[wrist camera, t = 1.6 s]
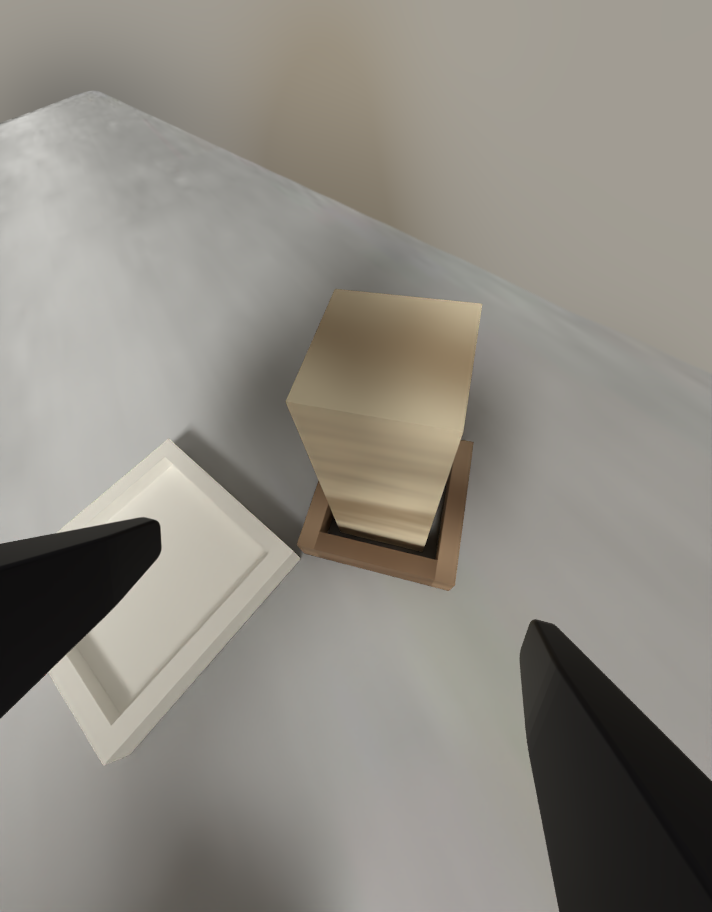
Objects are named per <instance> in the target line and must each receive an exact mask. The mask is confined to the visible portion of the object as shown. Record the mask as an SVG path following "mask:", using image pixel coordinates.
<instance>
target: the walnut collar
mask: <svg viewBox="0 0 712 912" xmlns="http://www.w3.org/2000/svg"><path fill="white" fill-rule="evenodd" d="M472 450H473V442H470V441H464V440H460V443H459V446H458V449H457V452H456V455H455V458H454V461H453V464H452V467H451V470H450V473H449V475H448V481H447V487H446V494H445V500H444V506H443V512H442V519H441V525H440V531H439V537H438V543H437V550H436V556H435V560H434V559H430V558H426V557H422V556H418V555H413V554H409V553H405V552H401V551H397V550H393V549H389V548H385V547H381V546H377V545H372V544H368V543H364V542H360V541H356V540H352V539H348V538H344V537H340V536H336V535H332V534H328V530H329V527H330V524H331V521H332V517H333V513H332V511H331V508H330V506H329V504H328V501H327V499H326V497H325V494H324V492H323V489H322V487H321V485H320V482H319V481H318V484H317V487H316V490H315V493H314V496H313V498H312V501H311V504H310V507H309V510H308V513H307V516H306V519H305V522H304V525H303V528H302V531H301V533H300V536H299V539H298V542H297V546H298V547H299V548H300V549H301V550H302V551H303V552H304V553H305V554H309V555H312V556H316V557H320V558H324V559H328V560H332V561H336V562H339V563H343V564H347V565H351V566H355V567H359V568H363V569H366V570H370V571H374V572H378V573H382V574H386V575H390V576H393V577H397V578H401V579H405V580H409V581H413V582H417V583H420V584H424V585H428V586H432V587H436V588H440V589H444V590H447V591H449V590H450V589H451V588H452V587H453V586H454V585H455V580H456V572H457V565H458V557H459V549H460V542H461V534H462V526H463V519H464V511H465V503H466V496H467V488H468V481H469V473H470V465H471V458H472Z"/></svg>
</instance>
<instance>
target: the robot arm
mask: <svg viewBox="0 0 712 912" xmlns="http://www.w3.org/2000/svg"><path fill="white" fill-rule="evenodd" d="M161 550H162V544H161V526H160V523H159V522H158V521H157V520H154V519H150V518H147V517H139V518H134V519H128V520H123V521H118V522H113V523H107V524H102V525H97V526H92V527H86V528H81V529H76V530H71V531H65V532H60V533H55V534H50V535H44V536H39V537H34V538H29V539H23V540H18V541H13V542H8V543H2V544H0V718H1V717H3V716H4V715H5V714H6V713H7V712H8V711H9V710H10V709H11V708H12V707H13V706H14V705H15V704H16V703H17V702H18V701H19V700H20V699H21V698H22V697H23V696H24V695H25V694H26V693H27V692H28V691H29V690H30V689H31V688H32V687H33V686H34V685H36V684H37V683H38V682H39V681H40V680H41V679H42V678H43V677H44V676H45V675H46V674H47V673H48V672H49V671H50V670H51V669H52V668H53V667H54V666H55V665H56V664H57V663H58V662H59V661H60V660H61V659H62V658H63V657H64V656H65V655H66V654H67V653H68V652H70V651H71V650H72V649H73V648H74V647H75V646H76V645H77V644H78V643H79V642H80V641H81V640H82V639H83V638H84V637H85V636H86V635H87V634H88V633H89V632H90V631H91V630H92V629H93V628H94V627H95V626H96V625H97V624H98V623H99V622H100V621H101V620H102V619H104V618H105V617H106V616H107V615H108V614H109V613H110V612H111V611H112V610H113V609H114V608H115V606H116V605H117V604H118V603H119V602H120V601H121V600H122V599H123V598H124V596H125V595H126V594H127V593H128V592H129V591H130V590H131V588H132V587H133V586H134V585H135V584H136V583H137V582H138V580H139V579H140V578H141V577H142V576H143V575H144V574H145V572H146V571H147V570H148V569H149V568H150V567H151V566H152V564H153V563H154V562H155V561H156V560H157V559H158V557H159V555H160V553H161ZM520 671H521V683H522V694H523V706H524V717H525V728H526V738H527V745H528V751H529V757H530V762H531V767H532V773H533V778H534V783H535V788H536V793H537V799H538V804H539V809H540V814H541V819H542V825H543V830H544V835H545V840H546V845H547V851H548V856H549V861H550V866H551V871H552V876H553V882H554V887H555V892H556V897H557V902H558V908H559V912H712V781H711V780H710V779H709V778H708V777H707V776H706V775H705V774H704V773H703V772H702V771H701V770H700V769H699V768H698V767H697V766H696V765H695V764H694V763H693V762H692V761H691V760H690V759H689V758H688V757H687V756H686V755H685V754H684V753H683V752H682V751H681V750H680V749H679V748H678V747H677V746H676V745H675V744H674V743H673V742H672V741H671V740H670V739H669V738H668V737H667V736H666V735H665V734H664V733H663V732H662V731H661V730H660V729H659V728H658V727H657V726H656V725H655V724H654V723H653V722H652V721H651V720H650V719H649V718H648V717H647V716H646V715H645V714H644V713H643V712H642V711H641V710H640V709H639V708H638V707H637V706H636V705H635V704H634V703H633V702H632V701H631V700H630V699H629V698H628V697H627V696H626V695H625V694H624V693H623V692H622V691H621V690H620V689H619V688H618V687H617V686H616V685H615V684H614V683H613V682H612V681H611V680H610V679H609V678H608V677H607V676H606V675H605V674H604V673H603V672H602V671H601V670H600V669H599V668H598V667H597V666H596V665H595V664H594V663H593V662H592V661H591V660H590V659H589V658H588V657H587V656H586V655H585V654H584V653H583V652H582V651H581V650H580V649H579V648H578V647H577V646H576V645H575V644H574V643H573V642H572V641H571V640H570V639H569V638H568V637H567V636H566V635H565V634H564V633H563V632H562V631H561V630H560V629H559V628H558V627H557V626H555V625H554V624H552V623H548V622H544V621H540V620H536V619H534V620H532V621H531V622H530V624H529V627H528V630H527V633H526V635H525V638H524V641H523V644H522V647H521V651H520Z"/></svg>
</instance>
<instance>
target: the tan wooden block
mask: <svg viewBox="0 0 712 912" xmlns="http://www.w3.org/2000/svg"><path fill="white" fill-rule="evenodd" d="M481 309H482V304H479V303H469V302H459V301H449V300H440V299H430V298H420V297H410V296H400V295H390V294H380V293H370V292H360V291H351V290H341V289H335V290H334V292H333V295H332V297H331V299H330V301H329V304H328V306H327V308H326V310H325V313H324V315H323V317H322V320H321V322H320V324H319V326H318V329H317V331H316V333H315V336H314V338H313V340H312V342H311V345H310V347H309V349H308V351H307V354H306V356H305V358H304V361H303V363H302V365H301V367H300V370H299V372H298V374H297V377H296V379H295V381H294V383H293V386H292V388H291V390H290V393H289V395H288V397H287V399H286V404H287V406H288V409H289V411H290V413H291V416H292V418H293V421H294V423H295V425H296V428H297V430H298V432H299V435H300V437H301V440H302V442H303V444H304V447H305V449H306V451H307V454H308V456H309V459H310V461H311V463H312V466H313V468H314V470H315V473H316V475H317V478H318V480H319V482H320V485H321V487H322V489H323V492H324V494H325V497H326V499H327V501H328V504H329V506H330V508H331V511H332V513H333V516H334V518H335V520H336V523H337V525H338V527H339V530H340V532H341V533H345V534H350V535H354V536H358V537H362V538H366V539H370V540H374V541H379V542H383V543H387V544H391V545H395V546H399V547H403V548H408V549H412V550H416V551H420V552H423V549H424V546H425V544H426V541H427V538H428V535H429V532H430V529H431V526H432V523H433V520H434V517H435V514H436V511H437V508H438V505H439V502H440V499H441V496H442V493H443V490H444V487H445V484H446V481H447V478H448V475H449V473H450V470H451V467H452V464H453V461H454V458H455V455H456V452H457V449H458V446H459V443H460V440H461V437H462V434H463V430H464V423H465V417H466V410H467V403H468V396H469V390H470V383H471V376H472V369H473V363H474V356H475V349H476V343H477V336H478V329H479V322H480V316H481Z"/></svg>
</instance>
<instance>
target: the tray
mask: <svg viewBox="0 0 712 912" xmlns="http://www.w3.org/2000/svg"><path fill="white" fill-rule="evenodd" d="M139 517H147V518H150V519H154V520H157V521H158V522H159V523H160V526H161V544H162V550H161V553H160V555H159V557H158V559H157V560H156V561H155V562H154V563H153V564H152V566H151V567H150V568H149V569H148V570H147V571H146V572H145V574H144V575H143V576H142V577H141V578H140V579H139V580H138V582H137V583H136V584H135V585H134V586H133V587H132V588H131V590H130V591H129V592H128V593H127V594H126V595H125V596H124V598H123V599H122V600H121V601H120V602H119V603H118V604H117V605H116V606H115V608H114V609H113V610H112V611H111V612H110V613H109V614H108V615H107V616H106V617H105V618H104V619H102V620H101V621H100V622H99V623H98V624H97V625H96V626H95V627H94V628H93V629H92V630H91V631H90V632H89V633H88V634H87V635H86V636H85V637H84V638H83V639H82V640H81V641H80V642H79V643H78V644H77V645H76V646H75V647H74V648H73V649H72V650H71V651H70V652H68V653H67V654H66V655H65V656H64V657H63V658H62V659H61V660H60V661H59V662H58V663H57V664H56V665H55V666H54V667H53V668H52V669H51V670H50V671H49V672H48V673H49V675H50V677H51V678H52V680H53V682H54V683H55V685H56V687H57V688H58V690H59V692H60V693H61V695H62V697H63V699H64V700H65V702H66V704H67V705H68V707H69V709H70V710H71V712H72V714H73V716H74V717H75V719H76V721H77V722H78V724H79V726H80V727H81V729H82V731H83V732H84V734H85V736H86V738H87V739H88V741H89V743H90V744H91V746H92V748H93V749H94V751H95V753H96V754H97V756H98V758H99V760H100V761H101V763H102V765H103V766H104V765H106V764H109V763H111V762H114V761H116V760H119V759H121V758H124V757H126V756H128V755H130V754H131V753H132V752H133V751H134V749H135V748H136V747H137V746H138V745H139V744H140V743H141V741H142V740H143V739H144V738H145V737H146V736H147V735H148V733H149V732H150V731H151V730H152V729H153V728H154V726H155V725H156V724H157V723H158V722H159V721H160V720H161V718H162V717H163V716H164V715H165V714H166V713H167V712H168V710H169V709H170V708H171V707H172V706H173V705H174V704H175V702H176V701H177V700H178V699H179V698H180V697H181V696H182V694H183V693H184V692H185V691H186V690H187V689H188V688H189V686H190V685H191V684H192V683H193V682H194V681H195V680H196V678H197V677H198V676H199V675H200V674H201V673H202V671H203V670H204V669H205V668H206V667H207V666H208V665H209V663H210V662H211V661H212V660H213V659H214V658H215V657H216V655H217V654H218V653H219V652H220V651H221V650H222V649H223V647H224V646H225V645H226V644H227V643H228V642H229V641H230V639H231V638H232V637H233V636H234V635H235V634H236V633H237V631H238V630H239V629H240V628H241V627H242V626H243V624H244V623H245V622H246V621H247V620H248V619H249V618H250V616H251V615H252V614H253V613H254V612H255V611H256V610H257V608H258V607H259V606H260V605H261V604H262V603H263V602H264V600H265V599H266V598H267V597H268V596H269V595H270V594H271V592H272V591H273V590H274V589H275V588H276V587H277V586H278V584H279V583H280V582H281V581H282V580H283V579H284V578H285V576H286V575H287V574H288V573H289V572H290V571H291V569H292V568H293V567H294V566H295V565H296V564H297V563H298V561H299V560H300V559H301V558H300V557H299V556H298V555H297V554H296V553H295V552H294V551H293V550H292V549H291V548H289V547H288V546H287V545H286V544H285V543H284V542H283V541H282V540H281V539H279V538H278V537H277V536H276V535H275V534H274V533H273V532H272V531H271V530H270V529H268V528H267V527H266V526H265V525H264V524H263V523H262V522H261V521H260V520H258V519H257V518H256V517H255V516H254V515H253V514H252V513H251V512H250V511H248V510H247V509H246V508H245V507H244V506H243V505H242V504H241V503H240V502H239V501H237V500H236V499H235V498H234V497H233V496H232V495H231V494H230V493H229V492H227V491H226V490H225V489H224V488H223V487H222V486H221V485H220V484H219V483H217V482H216V481H215V480H214V479H213V478H212V477H211V476H210V475H209V474H208V473H206V472H205V471H204V470H203V469H202V468H201V467H200V466H199V465H198V464H196V463H195V462H194V461H193V460H192V459H191V458H190V457H189V456H188V455H186V454H185V453H184V452H183V451H182V450H181V449H180V448H179V447H178V446H177V445H175V444H174V443H173V442H172V441H171V440H170V439H167V440H166V441H165V442H164V443H163V444H161V445H160V446H159V447H158V448H157V449H155V450H154V451H153V452H152V453H151V454H150V455H148V456H147V457H146V458H145V459H144V460H142V461H141V462H140V463H139V464H138V465H136V466H135V467H134V468H133V469H132V470H130V471H129V472H128V473H127V474H126V475H125V476H123V477H122V478H121V479H120V480H119V481H117V482H116V483H115V484H114V485H113V486H111V487H110V488H109V489H108V490H107V491H106V492H104V493H103V494H102V495H101V496H100V497H98V498H97V499H96V500H95V501H94V502H92V503H91V504H90V505H89V506H88V507H87V508H85V509H84V510H83V511H82V512H81V513H79V514H78V515H77V516H76V517H75V518H73V519H72V520H71V521H70V522H69V523H68V524H66V525H65V526H64V527H63V528H62V529H60V530H59V531H58V532H57V533H60V532H65V531H71V530H76V529H81V528H86V527H92V526H97V525H102V524H107V523H113V522H118V521H123V520H128V519H134V518H139Z"/></svg>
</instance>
